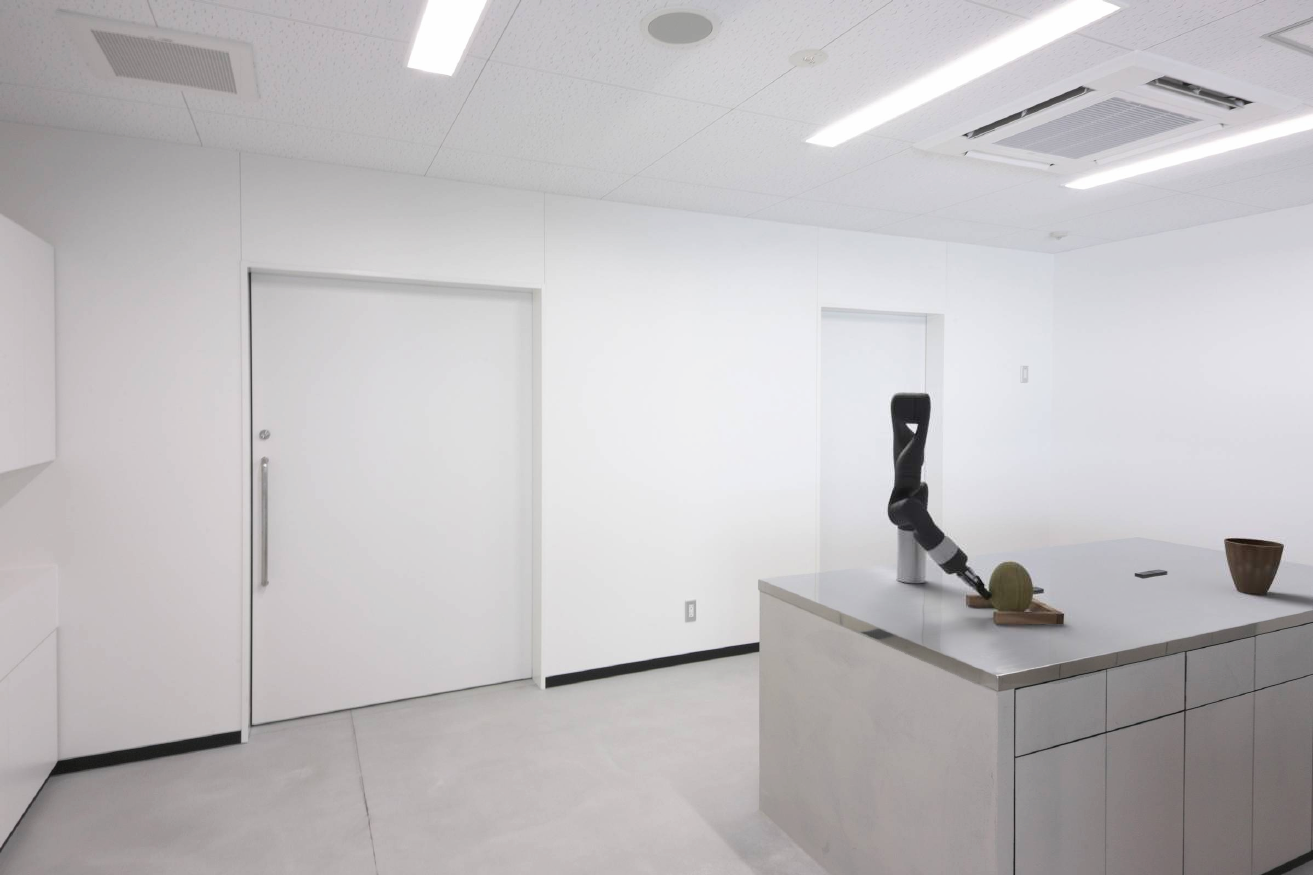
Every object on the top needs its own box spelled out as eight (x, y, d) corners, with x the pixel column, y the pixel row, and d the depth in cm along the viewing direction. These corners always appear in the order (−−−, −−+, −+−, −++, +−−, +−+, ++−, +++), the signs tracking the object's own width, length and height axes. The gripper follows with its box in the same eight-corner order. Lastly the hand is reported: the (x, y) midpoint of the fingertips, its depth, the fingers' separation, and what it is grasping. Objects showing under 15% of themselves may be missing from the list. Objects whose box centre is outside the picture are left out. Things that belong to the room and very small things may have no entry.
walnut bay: (966, 604, 224) (966, 594, 224) (1027, 604, 224) (1027, 594, 224) (996, 624, 204) (997, 613, 204) (1063, 624, 204) (1064, 613, 204)
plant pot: (1219, 584, 250) (1221, 536, 250) (1277, 590, 243) (1279, 540, 242) (1225, 593, 238) (1227, 543, 237) (1286, 600, 230) (1288, 548, 229)
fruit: (1017, 608, 220) (1019, 557, 219) (1040, 619, 209) (1042, 565, 208) (980, 609, 219) (981, 557, 218) (1001, 620, 208) (1002, 566, 207)
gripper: (965, 548, 206) (1009, 594, 207) (946, 540, 219) (988, 582, 220) (945, 567, 206) (989, 613, 207) (927, 558, 220) (969, 600, 220)
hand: (988, 597), depth 213 cm, fingers closed
